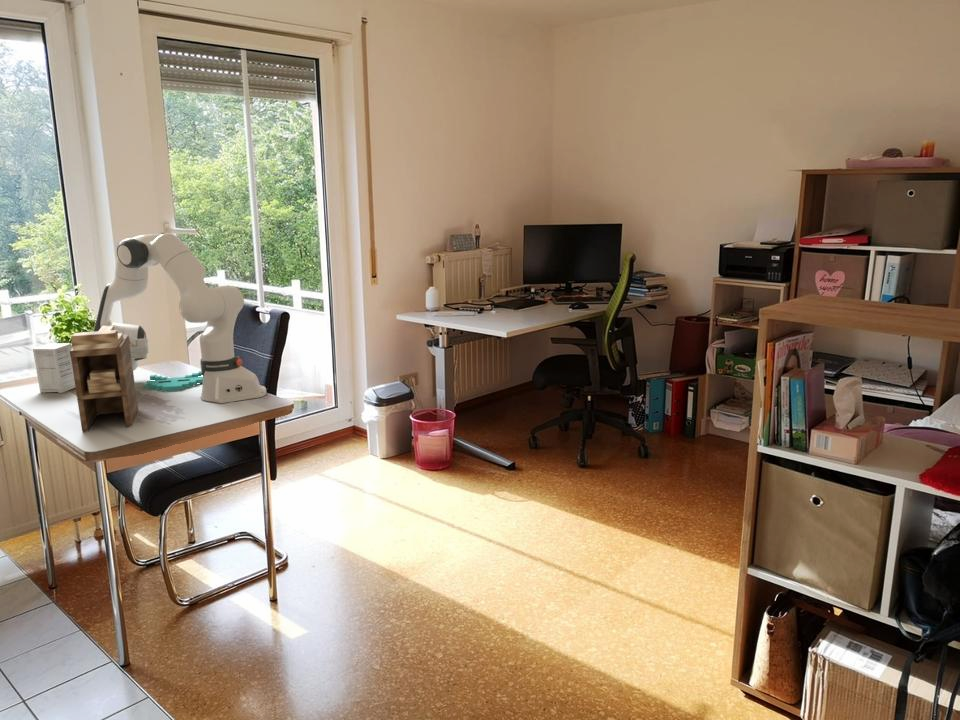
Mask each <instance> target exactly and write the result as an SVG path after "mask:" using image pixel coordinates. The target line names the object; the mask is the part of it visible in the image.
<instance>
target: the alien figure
mask: <svg viewBox="0 0 960 720" xmlns="http://www.w3.org/2000/svg"><path fill="white" fill-rule="evenodd" d="M201 375H202V373H201V370H200V371H198V372H193V373H191V374H186V375H185V376H179V377H178V376H176V377H175V376H174V377H168V376H163V375H157V374H150V375H149V380H147V381H146V382H145V386H144V387H145V389H146V388H148V389H154V390H156V391H157V390H161V392H163V393H164V391H167V392H175V391H174V390H180V391H182V390H183V389H182V388H185V389H190V387H189V386H191V387H194V386H193V385H196V384H197V383H203V377H198V376H201ZM150 380H155V381H150ZM197 385H198V384H197ZM197 385H196V386H197Z"/></svg>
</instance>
